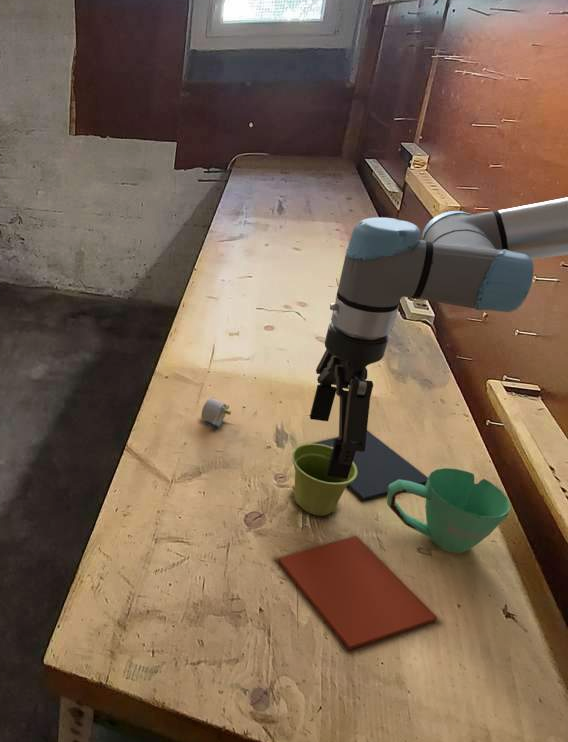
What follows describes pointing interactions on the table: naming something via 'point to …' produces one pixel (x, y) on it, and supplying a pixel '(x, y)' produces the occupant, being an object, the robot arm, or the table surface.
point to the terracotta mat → (355, 592)
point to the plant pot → (317, 479)
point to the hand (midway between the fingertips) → (327, 445)
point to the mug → (453, 508)
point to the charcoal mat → (378, 468)
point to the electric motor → (214, 412)
